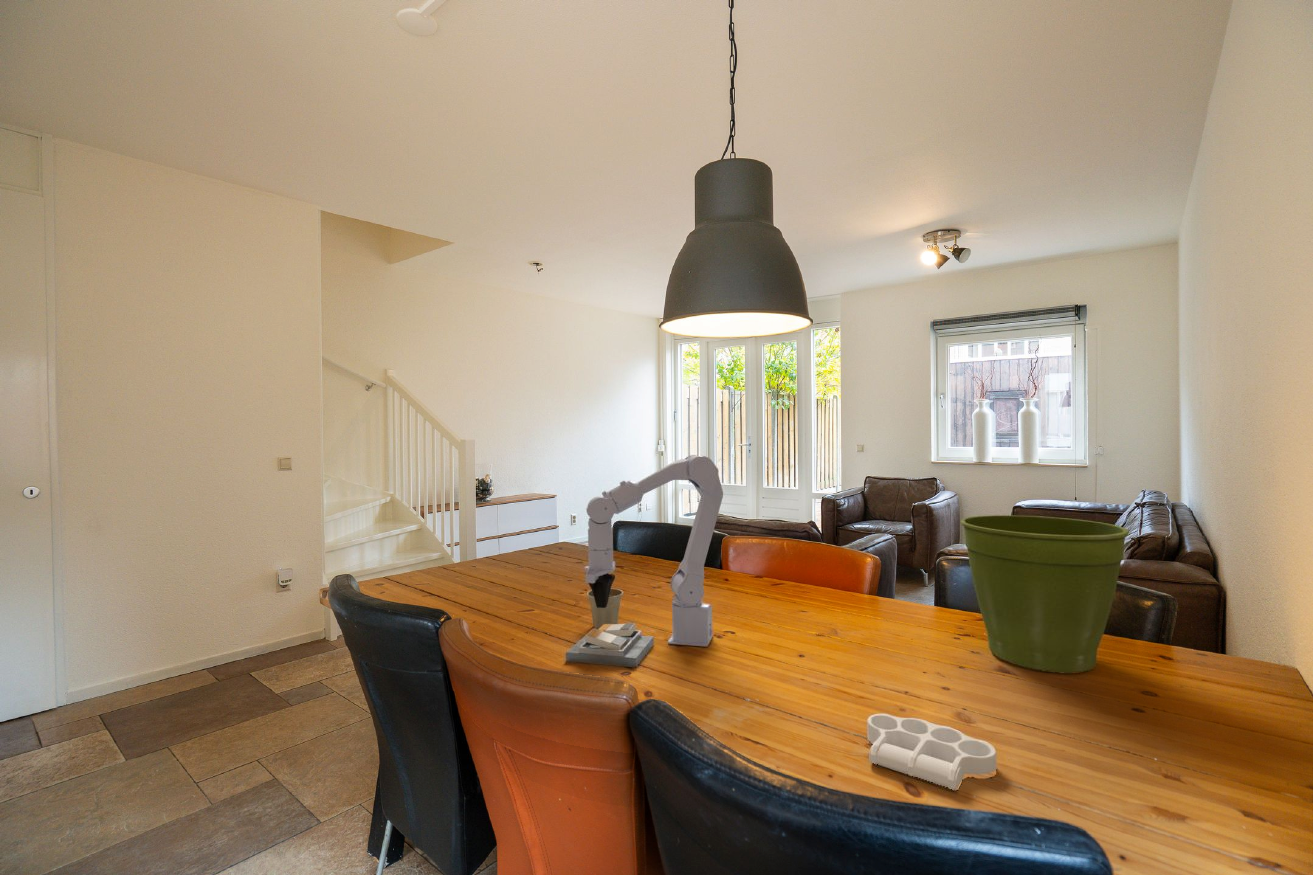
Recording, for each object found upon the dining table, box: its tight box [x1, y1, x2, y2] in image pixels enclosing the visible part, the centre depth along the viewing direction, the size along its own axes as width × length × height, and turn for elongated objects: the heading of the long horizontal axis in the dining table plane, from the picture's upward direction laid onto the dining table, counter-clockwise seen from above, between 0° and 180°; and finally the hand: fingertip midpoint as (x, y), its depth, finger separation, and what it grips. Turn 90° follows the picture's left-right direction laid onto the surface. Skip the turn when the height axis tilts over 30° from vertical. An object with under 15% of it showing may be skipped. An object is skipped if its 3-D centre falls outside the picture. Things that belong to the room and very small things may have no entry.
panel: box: [565, 629, 655, 668], centre depth 133 cm, size 16×14×3 cm
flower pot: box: [586, 587, 624, 629], centre depth 153 cm, size 9×9×9 cm
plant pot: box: [960, 514, 1129, 674], centre depth 126 cm, size 30×30×29 cm
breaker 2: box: [599, 622, 637, 636], centre depth 137 cm, size 8×4×2 cm, turn 75°
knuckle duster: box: [866, 713, 998, 791], centre depth 88 cm, size 3×18×15 cm
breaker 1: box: [585, 627, 627, 650], centre depth 130 cm, size 8×4×2 cm, turn 75°
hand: (601, 607), depth 138 cm, fingers closed
